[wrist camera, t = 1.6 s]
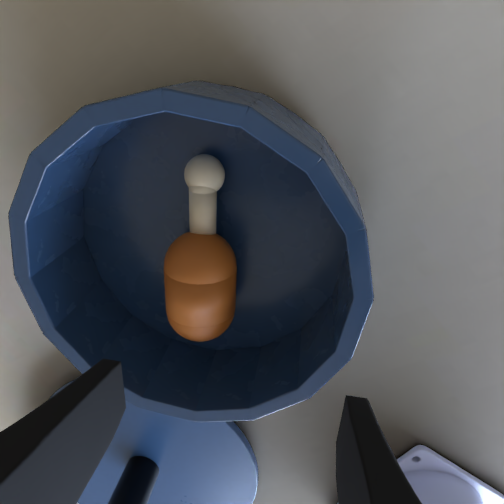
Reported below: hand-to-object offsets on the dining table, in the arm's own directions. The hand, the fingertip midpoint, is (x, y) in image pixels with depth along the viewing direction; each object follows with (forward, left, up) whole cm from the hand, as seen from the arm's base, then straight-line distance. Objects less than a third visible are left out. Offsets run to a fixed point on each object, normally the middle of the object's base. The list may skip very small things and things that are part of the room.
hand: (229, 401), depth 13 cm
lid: (-19, -2, -10) cm, 21 cm away
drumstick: (-1, +3, -10) cm, 10 cm away
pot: (-1, +3, -10) cm, 11 cm away
